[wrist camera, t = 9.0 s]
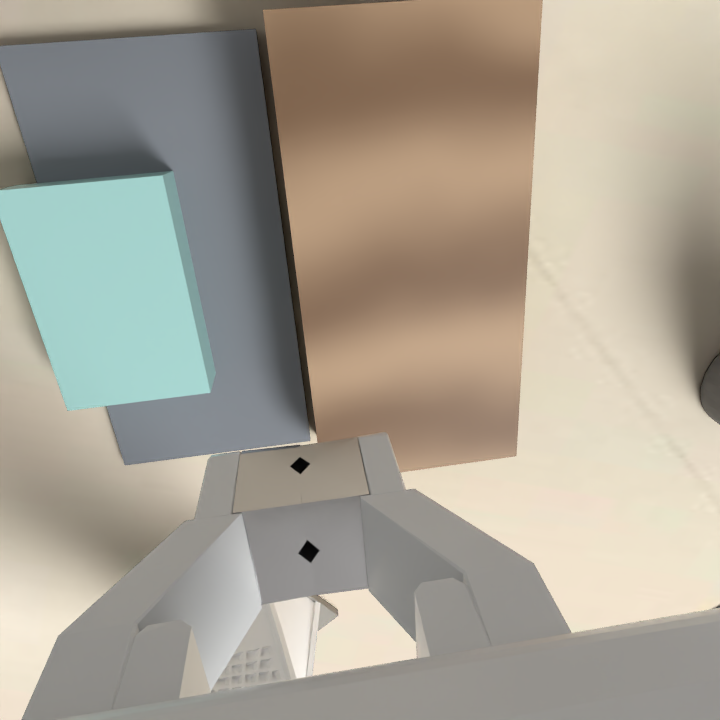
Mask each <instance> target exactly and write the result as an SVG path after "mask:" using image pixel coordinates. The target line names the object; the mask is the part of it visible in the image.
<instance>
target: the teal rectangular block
mask: <svg viewBox="0 0 720 720" xmlns="http://www.w3.org/2000/svg"><path fill="white" fill-rule="evenodd" d="M0 220H1V223H2V226H3V229H4V231H5V234H6V237H7V240H8V243H9V246H10V248H11V251H12V254H13V257H14V260H15V263H16V266H17V268H18V271H19V274H20V277H21V280H22V283H23V285H24V288H25V291H26V294H27V297H28V300H29V302H30V305H31V308H32V311H33V314H34V317H35V319H36V322H37V325H38V328H39V331H40V334H41V337H42V339H43V342H44V345H45V348H46V351H47V354H48V356H49V359H50V362H51V365H52V368H53V371H54V373H55V376H56V379H57V382H58V385H59V388H60V390H61V393H62V396H63V399H64V402H65V405H66V408H67V410H68V411H70V410H78V409H86V408H94V407H102V406H110V405H118V404H126V403H134V402H141V401H149V400H157V399H165V398H173V397H181V396H189V395H197V394H205V393H211V389H212V385H213V382H214V378H215V375H216V371H215V367H214V362H213V357H212V352H211V348H210V343H209V338H208V334H207V329H206V324H205V319H204V315H203V310H202V305H201V301H200V296H199V291H198V286H197V282H196V277H195V272H194V267H193V263H192V258H191V253H190V249H189V244H188V239H187V234H186V230H185V225H184V220H183V216H182V211H181V206H180V201H179V197H178V192H177V187H176V182H175V178H174V173H173V171H166V172H155V173H144V174H133V175H122V176H111V177H100V178H89V179H78V180H67V181H56V182H45V183H35V184H24V185H15V186H11V187H6V188H2V189H0Z"/></svg>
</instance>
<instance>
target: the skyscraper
mask: <svg viewBox="0 0 720 720" xmlns="http://www.w3.org/2000/svg"><path fill="white" fill-rule="evenodd" d="M261 606H262V609H261V610H260V612H259V614H258V615H257V617H256V619H255V620H254V622H253V623H252V625H251V627H250V628H249V630H248V632H247V633H246V635H245V636H244V638H243V640H242V641H241V643H240V644H239V646H238V648H237V649H236V651H235V653H234V654H233V656H232V657H231V659H230V661H229V662H228V664H227V665H226V667H225V669H224V670H223V672H222V674H221V675H220V677H219V678H218V680H217V682H216V683H215V685H214V686H213V688H212V690H211V693H214V692H219V691H225V690H231V689H237V688H243V687H249V686H255V685H261V684H267V683H273V682H279V681H285V680H291V679H297V678H303V677H309V676H312V674H313V665H314V657H315V648H316V640H317V631H318V630H320V629H321V628H323V627H324V626H325V625H327V624H328V623H329V622H331V621H332V620H333V619H335V618H336V617H337V616H338V610H337V609H336V608H334V607H333V606H332V605H330V604H329V603H327V602H326V601H325V600H323V599H322V598H320V597H319V596H318V595H316V594H315V595H313V596H307V597H302V598H297V599H291V600H286V601H280V602H275V603H269V604H264V605H261Z"/></svg>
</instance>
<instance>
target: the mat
mask: <svg viewBox="0 0 720 720" xmlns="http://www.w3.org/2000/svg"><path fill="white" fill-rule="evenodd" d="M0 66H1V69H2V72H3V76H4V79H5V82H6V85H7V88H8V92H9V95H10V98H11V101H12V104H13V108H14V111H15V114H16V117H17V121H18V124H19V127H20V130H21V133H22V137H23V140H24V143H25V146H26V149H27V153H28V156H29V159H30V162H31V165H32V169H33V172H34V175H35V178H36V182H37V183H45V182H56V181H67V180H78V179H89V178H100V177H111V176H122V175H133V174H144V173H155V172H166V171H173V173H174V178H175V182H176V187H177V192H178V197H179V201H180V206H181V211H182V216H183V220H184V225H185V230H186V234H187V239H188V244H189V249H190V253H191V258H192V263H193V267H194V272H195V277H196V282H197V286H198V291H199V296H200V301H201V305H202V310H203V315H204V319H205V324H206V329H207V334H208V338H209V343H210V348H211V352H212V357H213V362H214V367H215V371H216V375H215V378H214V382H213V385H212V389H211V393H205V394H197V395H189V396H181V397H173V398H165V399H157V400H149V401H141V402H134V403H126V404H118V405H110V406H107V410H108V413H109V416H110V419H111V422H112V426H113V429H114V432H115V435H116V438H117V442H118V445H119V448H120V451H121V454H122V458H123V461H124V464H125V465H131V464H139V463H146V462H154V461H161V460H169V459H177V458H184V457H192V456H199V455H207V454H214V453H222V452H229V451H237V450H244V449H252V448H260V447H267V446H275V445H282V444H290V443H297V442H305V441H310V432H309V424H308V417H307V409H306V402H305V394H304V387H303V379H302V372H301V364H300V357H299V349H298V342H297V334H296V327H295V319H294V311H293V304H292V296H291V289H290V281H289V274H288V266H287V259H286V251H285V244H284V236H283V229H282V221H281V214H280V206H279V199H278V191H277V184H276V176H275V169H274V161H273V154H272V146H271V138H270V131H269V123H268V116H267V108H266V101H265V93H264V86H263V78H262V71H261V63H260V56H259V48H258V41H257V33H256V29H248V30H233V31H218V32H203V33H188V34H173V35H158V36H143V37H128V38H113V39H98V40H83V41H68V42H53V43H38V44H23V45H8V46H0Z"/></svg>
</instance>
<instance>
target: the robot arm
mask: <svg viewBox="0 0 720 720" xmlns="http://www.w3.org/2000/svg"><path fill="white" fill-rule="evenodd" d="M367 588H369V591H370V592H371V594H372V595H373V596H374V597H375V598H376V599H377V600H378V601H379V602H380V603H381V605H382V606H383V607H384V608H385V609H386V610H387V611H388V612H389V613H390V614H391V615H392V617H393V618H394V619H395V620H396V621H397V622H398V623H399V624H400V625H401V626H402V627H403V629H404V630H405V631H406V632H407V633H408V634H409V635H410V636H411V637H412V638H413V640H414V641H415V642H416V650H417V658H416V659H410V660H404V661H398V662H392V663H386V664H380V665H374V666H368V667H362V668H357V669H351V670H345V671H339V672H333V673H327V674H321V675H315V676H309V677H303V678H297V679H291V680H285V681H279V682H273V683H267V684H261V685H255V686H249V687H243V688H237V689H231V690H225V691H219V692H214V693H211V690H212V688H213V686H214V685H215V683H216V682H217V680H218V678H219V677H220V675H221V674H222V672H223V670H224V669H225V667H226V665H227V664H228V662H229V661H230V659H231V657H232V656H233V654H234V653H235V651H236V649H237V648H238V646H239V644H240V643H241V641H242V640H243V638H244V636H245V635H246V633H247V632H248V630H249V628H250V627H251V625H252V623H253V622H254V620H255V619H256V617H257V615H258V614H259V612H260V610H261V609H262V606H261V605H264V604H269V603H275V602H280V601H286V600H291V599H297V598H302V597H307V596H313V595H315V594H316V595H320V594H328V593H336V592H344V591H352V590H359V589H367ZM22 720H720V608H716V609H710V610H704V611H698V612H692V613H686V614H680V615H674V616H669V617H663V618H657V619H651V620H645V621H639V622H633V623H627V624H621V625H616V626H610V627H604V628H598V629H592V630H586V631H580V632H574V633H571V631H570V629H569V627H568V625H567V623H566V622H565V620H564V618H563V616H562V614H561V612H560V611H559V609H558V607H557V605H556V603H555V601H554V600H553V598H552V596H551V594H550V592H549V591H548V589H547V587H546V585H545V583H544V581H543V580H542V578H541V576H540V574H539V572H538V570H537V569H536V567H535V565H534V563H532V562H531V561H529V560H527V559H526V558H524V557H523V556H521V555H519V554H518V553H516V552H515V551H513V550H511V549H510V548H508V547H507V546H505V545H504V544H502V543H500V542H499V541H497V540H496V539H494V538H492V537H491V536H489V535H488V534H486V533H484V532H483V531H481V530H480V529H478V528H476V527H475V526H473V525H472V524H470V523H468V522H467V521H465V520H464V519H462V518H460V517H459V516H457V515H456V514H454V513H452V512H451V511H449V510H448V509H446V508H444V507H443V506H441V505H440V504H438V503H436V502H435V501H433V500H432V499H430V498H428V497H427V496H425V495H424V494H422V493H420V492H419V491H417V490H416V489H409V490H406V489H405V486H404V483H403V479H402V476H401V473H400V470H399V467H398V464H397V461H396V458H395V454H394V451H393V448H392V445H391V442H390V439H389V436H388V434H387V433H386V432H382V433H376V434H370V435H364V436H358V437H353V438H347V439H340V440H334V441H327V442H321V443H314V444H308V445H301V446H300V445H294V446H285V447H276V448H267V449H258V450H249V451H242V452H239V451H238V452H231V453H224V454H217V455H212V456H211V457H210V458H209V459H208V461H207V466H206V470H205V475H204V479H203V483H202V488H201V492H200V496H199V501H198V505H197V510H196V514H195V518H194V520H188V521H185V522H183V523H182V524H181V525H180V526H179V527H178V528H177V529H176V530H175V531H173V532H172V533H171V534H170V535H169V536H168V537H167V538H166V539H165V540H164V541H162V542H161V543H160V544H159V545H158V546H157V547H156V548H155V549H154V550H153V551H151V552H150V553H149V554H148V555H147V556H146V557H145V558H144V559H143V560H141V561H140V562H139V563H138V564H137V565H136V566H135V567H134V568H133V569H132V570H130V571H129V572H128V573H127V574H126V575H125V576H124V577H123V578H122V579H121V580H119V581H118V582H117V583H116V584H115V585H114V586H113V587H112V588H111V589H109V590H108V591H107V592H106V593H105V594H104V595H103V596H102V597H101V598H100V599H98V600H97V601H96V602H95V603H94V604H93V605H92V606H91V607H90V608H89V609H87V610H86V611H85V612H84V613H83V614H82V615H81V616H80V617H79V618H77V619H76V620H75V621H74V622H73V623H72V624H71V625H70V626H69V627H68V628H66V629H65V630H64V631H63V632H62V633H61V634H60V635H59V636H58V638H57V640H56V642H55V644H54V647H53V649H52V651H51V654H50V656H49V658H48V660H47V663H46V665H45V667H44V670H43V672H42V674H41V676H40V679H39V681H38V683H37V685H36V688H35V690H34V692H33V695H32V697H31V699H30V701H29V704H28V706H27V708H26V710H25V713H24V715H23V717H22Z"/></svg>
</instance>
